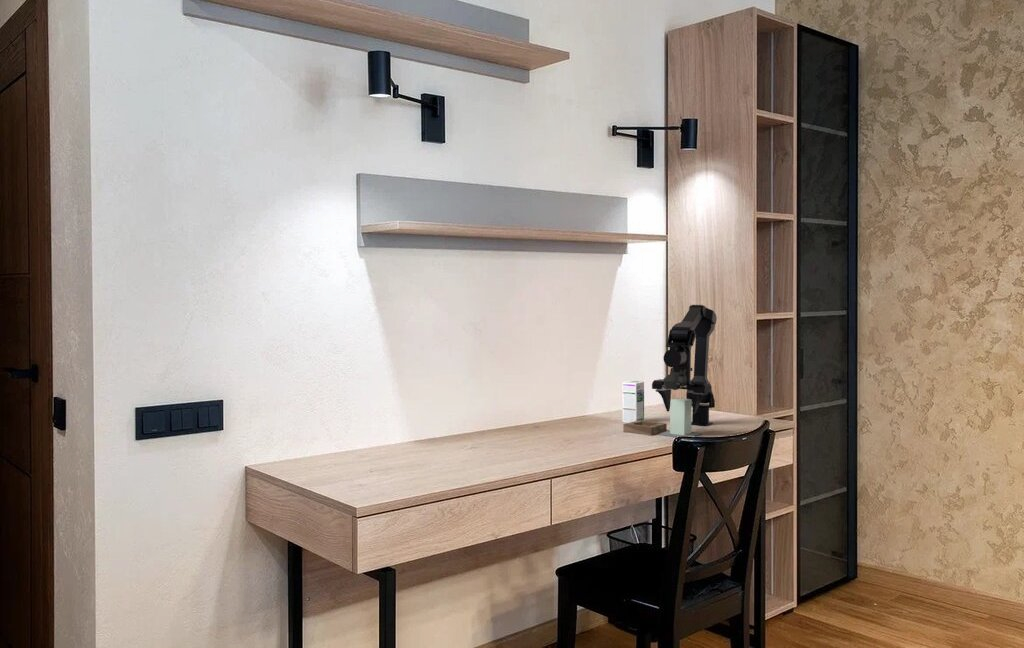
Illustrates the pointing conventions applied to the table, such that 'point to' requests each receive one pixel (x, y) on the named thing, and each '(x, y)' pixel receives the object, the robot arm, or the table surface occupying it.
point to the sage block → (680, 416)
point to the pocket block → (644, 427)
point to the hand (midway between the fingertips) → (680, 412)
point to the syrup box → (632, 401)
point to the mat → (680, 435)
